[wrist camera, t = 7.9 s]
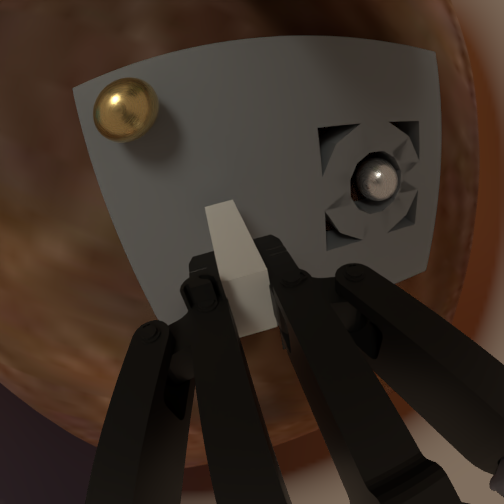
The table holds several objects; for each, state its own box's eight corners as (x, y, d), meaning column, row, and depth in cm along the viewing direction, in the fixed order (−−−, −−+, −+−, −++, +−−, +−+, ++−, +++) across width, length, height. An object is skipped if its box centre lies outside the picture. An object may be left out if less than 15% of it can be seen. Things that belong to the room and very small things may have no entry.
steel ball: (391, 169, 15) (404, 157, 17) (347, 159, 17) (366, 149, 19) (387, 213, 17) (401, 197, 19) (347, 201, 19) (365, 187, 21)
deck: (175, 330, 23) (176, 351, 21) (87, 90, 12) (72, 88, 10) (411, 257, 25) (425, 270, 23) (413, 52, 15) (435, 51, 13)
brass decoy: (98, 92, 11) (76, 90, 8) (155, 72, 11) (147, 63, 9) (111, 146, 13) (93, 157, 10) (167, 128, 13) (162, 133, 10)
